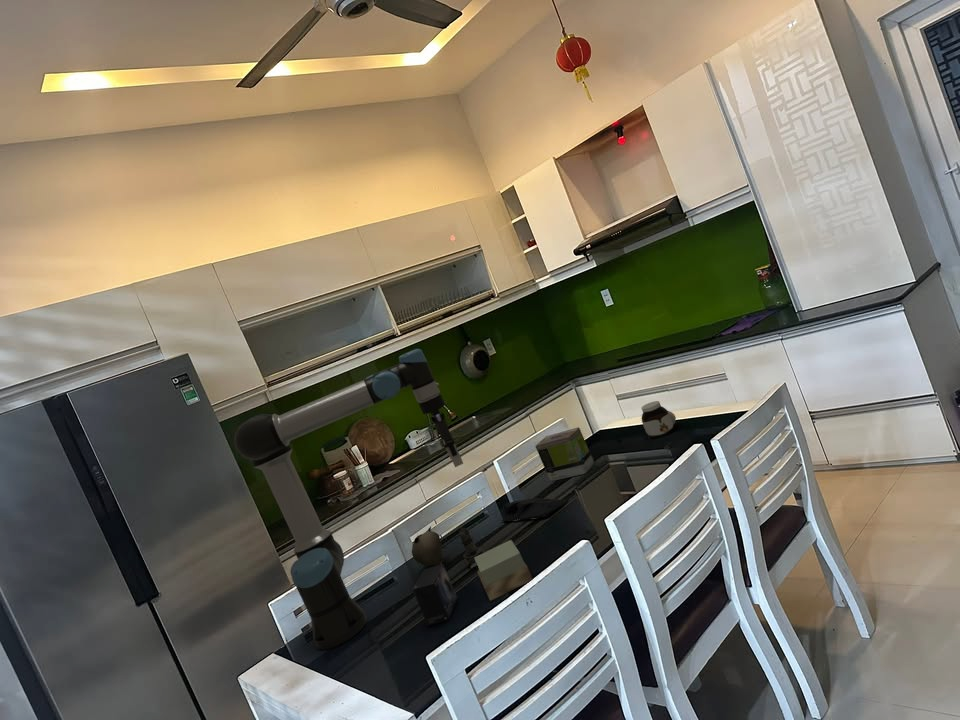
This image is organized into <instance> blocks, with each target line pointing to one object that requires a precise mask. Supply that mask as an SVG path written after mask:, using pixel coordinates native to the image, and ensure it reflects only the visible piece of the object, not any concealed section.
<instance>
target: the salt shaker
mask: <svg viewBox="0 0 960 720" xmlns="http://www.w3.org/2000/svg"><path fill="white" fill-rule="evenodd" d="M458 532H459V533H458V534H459V537H460V539H461V544H462V545H463V547H464V549H465V553H464V554H463V559H464V560H465V561H466V562H468V563H474V562H476V561H475V559H474V557H476V556H479V555H481V554H483V548H482V547H481V546H479V547H477V545H476V544H475V543H474V538H473V537H472V536H471V533H470V531H469V530H468V529H467V528H463V526H461V527H460V530H459V531H458Z"/></svg>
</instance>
